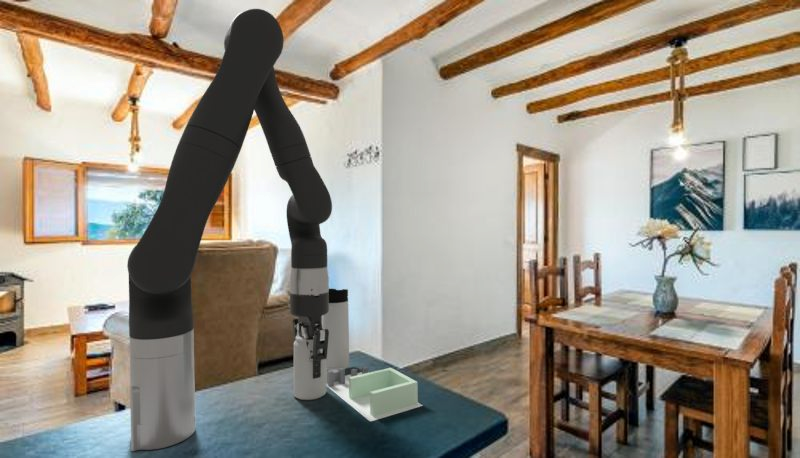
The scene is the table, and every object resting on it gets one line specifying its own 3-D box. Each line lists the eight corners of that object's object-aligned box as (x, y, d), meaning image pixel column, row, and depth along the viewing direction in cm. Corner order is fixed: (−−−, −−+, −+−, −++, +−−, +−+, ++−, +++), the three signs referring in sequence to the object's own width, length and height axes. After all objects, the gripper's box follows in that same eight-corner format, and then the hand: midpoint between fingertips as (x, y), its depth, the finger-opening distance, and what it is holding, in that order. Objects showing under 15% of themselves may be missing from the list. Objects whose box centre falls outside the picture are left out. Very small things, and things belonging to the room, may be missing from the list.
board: (370, 428, 71) (369, 403, 70) (321, 386, 89) (320, 367, 89) (422, 411, 76) (422, 389, 76) (366, 376, 95) (366, 357, 95)
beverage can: (330, 390, 85) (330, 331, 85) (321, 403, 79) (321, 340, 79) (299, 389, 86) (300, 331, 86) (288, 402, 79) (288, 339, 79)
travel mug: (317, 375, 96) (316, 288, 96) (329, 365, 102) (327, 284, 102) (342, 377, 95) (341, 289, 94) (353, 367, 101) (351, 285, 101)
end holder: (373, 416, 72) (372, 393, 72) (349, 397, 80) (348, 377, 80) (417, 403, 77) (417, 382, 77) (391, 386, 85) (390, 367, 85)
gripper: (279, 287, 86) (280, 368, 87) (303, 296, 74) (304, 391, 74) (314, 284, 91) (314, 362, 91) (342, 293, 78) (342, 382, 79)
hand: (309, 374), depth 83 cm, fingers closed on beverage can, 5 cm apart
